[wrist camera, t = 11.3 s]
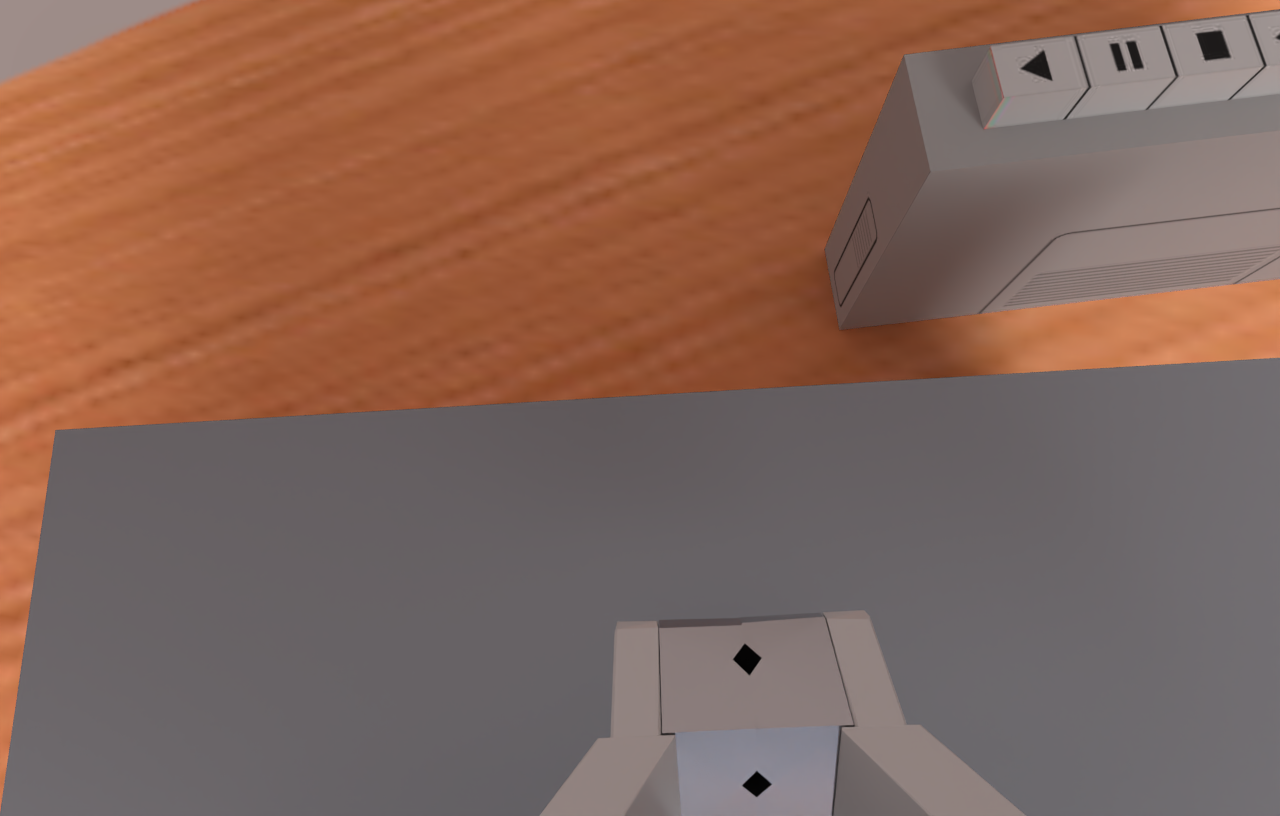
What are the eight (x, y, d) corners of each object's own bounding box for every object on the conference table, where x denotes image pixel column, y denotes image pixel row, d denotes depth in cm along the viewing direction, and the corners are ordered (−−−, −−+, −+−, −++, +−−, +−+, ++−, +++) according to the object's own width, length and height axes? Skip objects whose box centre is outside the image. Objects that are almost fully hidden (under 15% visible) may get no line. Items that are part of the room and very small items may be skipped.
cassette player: (1325, 191, 25) (1742, -82, 15) (1354, 271, 24) (1811, 39, 14) (824, 250, 25) (918, 19, 15) (839, 331, 24) (947, 142, 15)
